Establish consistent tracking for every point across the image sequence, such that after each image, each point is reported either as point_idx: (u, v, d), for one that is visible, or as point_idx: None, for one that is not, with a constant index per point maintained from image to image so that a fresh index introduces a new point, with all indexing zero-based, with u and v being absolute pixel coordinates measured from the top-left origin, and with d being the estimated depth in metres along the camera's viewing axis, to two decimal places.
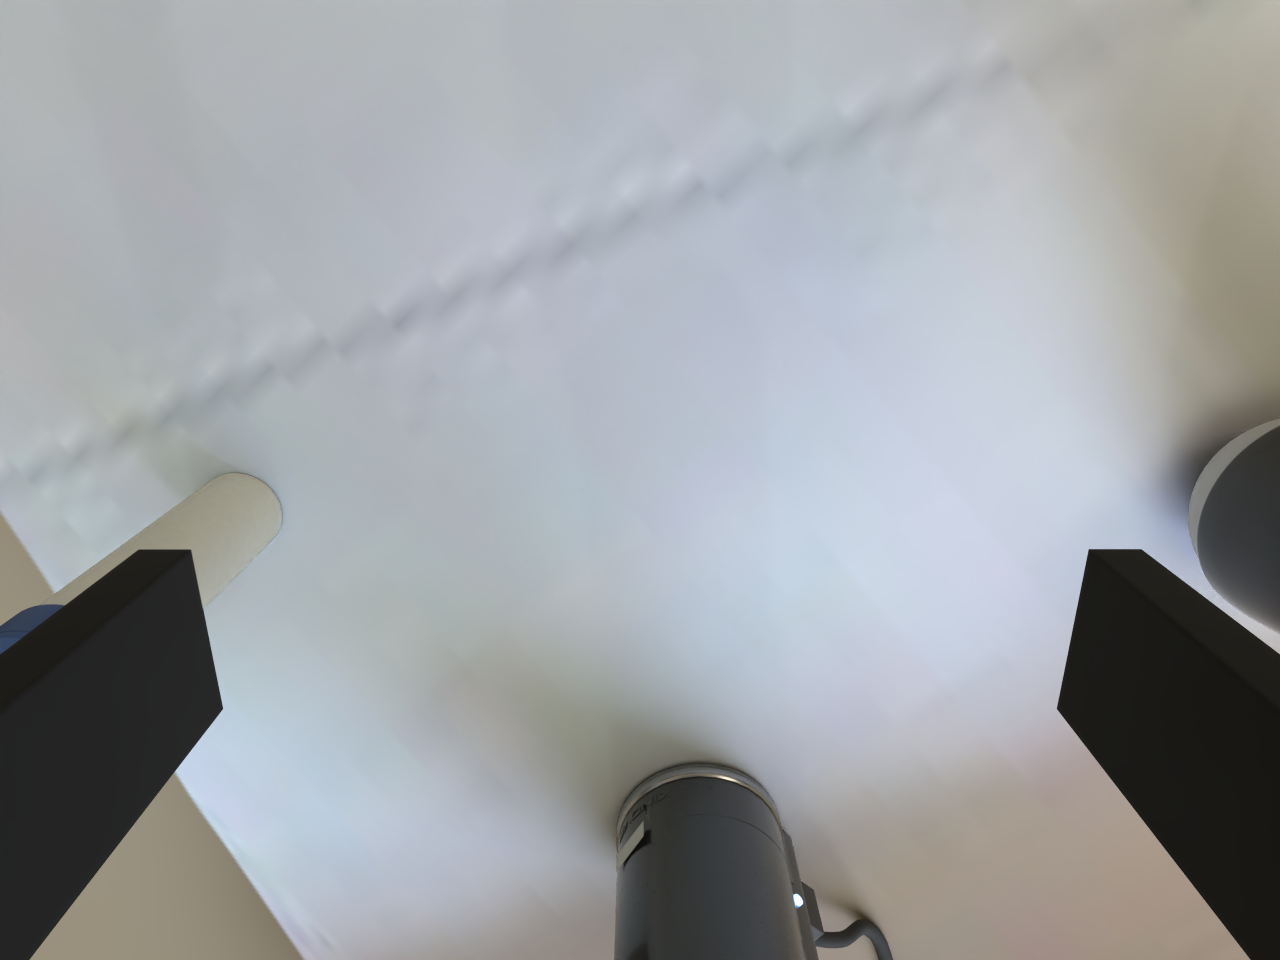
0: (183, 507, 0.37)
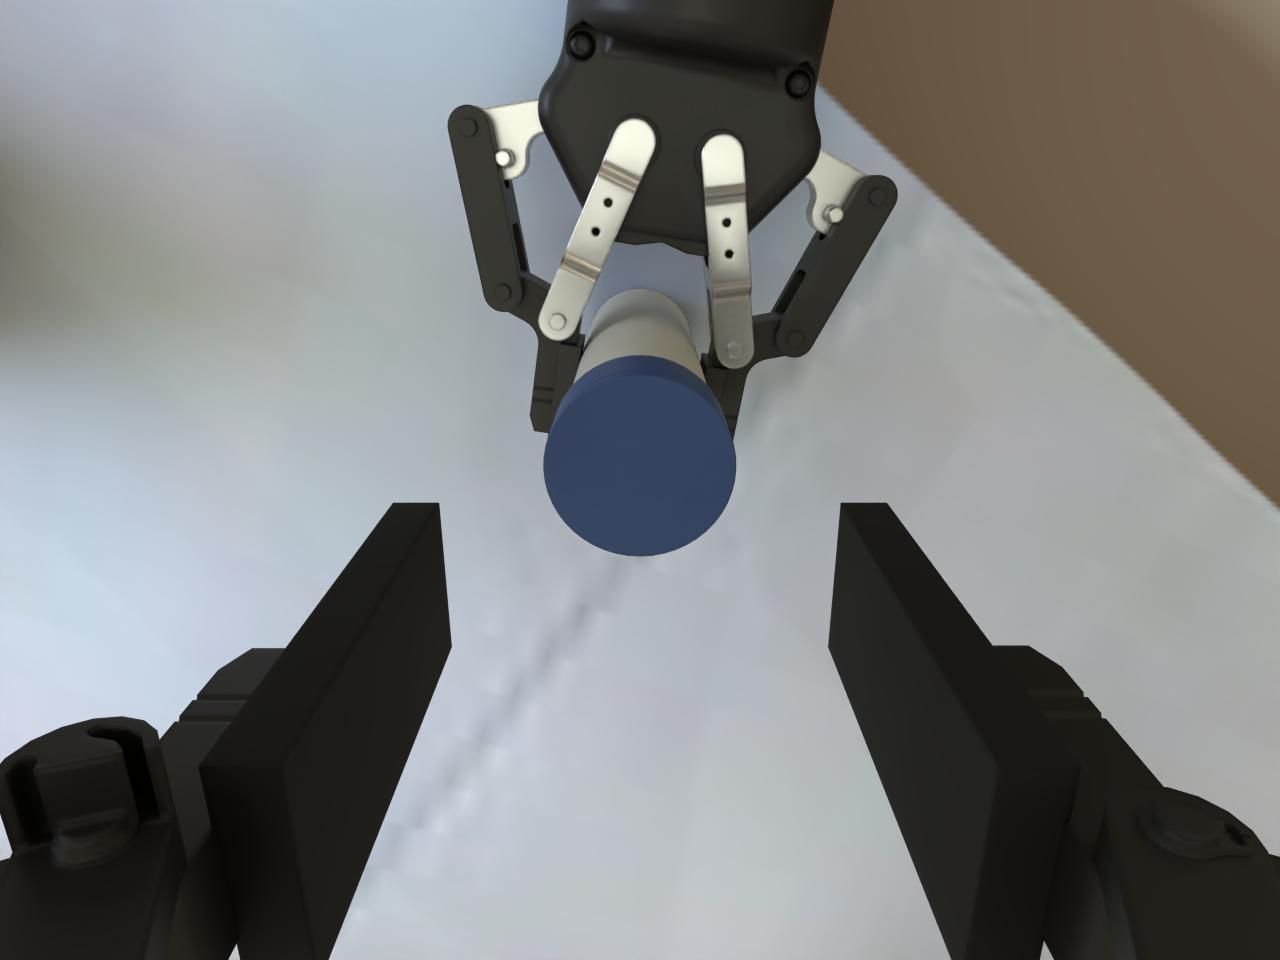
0: None
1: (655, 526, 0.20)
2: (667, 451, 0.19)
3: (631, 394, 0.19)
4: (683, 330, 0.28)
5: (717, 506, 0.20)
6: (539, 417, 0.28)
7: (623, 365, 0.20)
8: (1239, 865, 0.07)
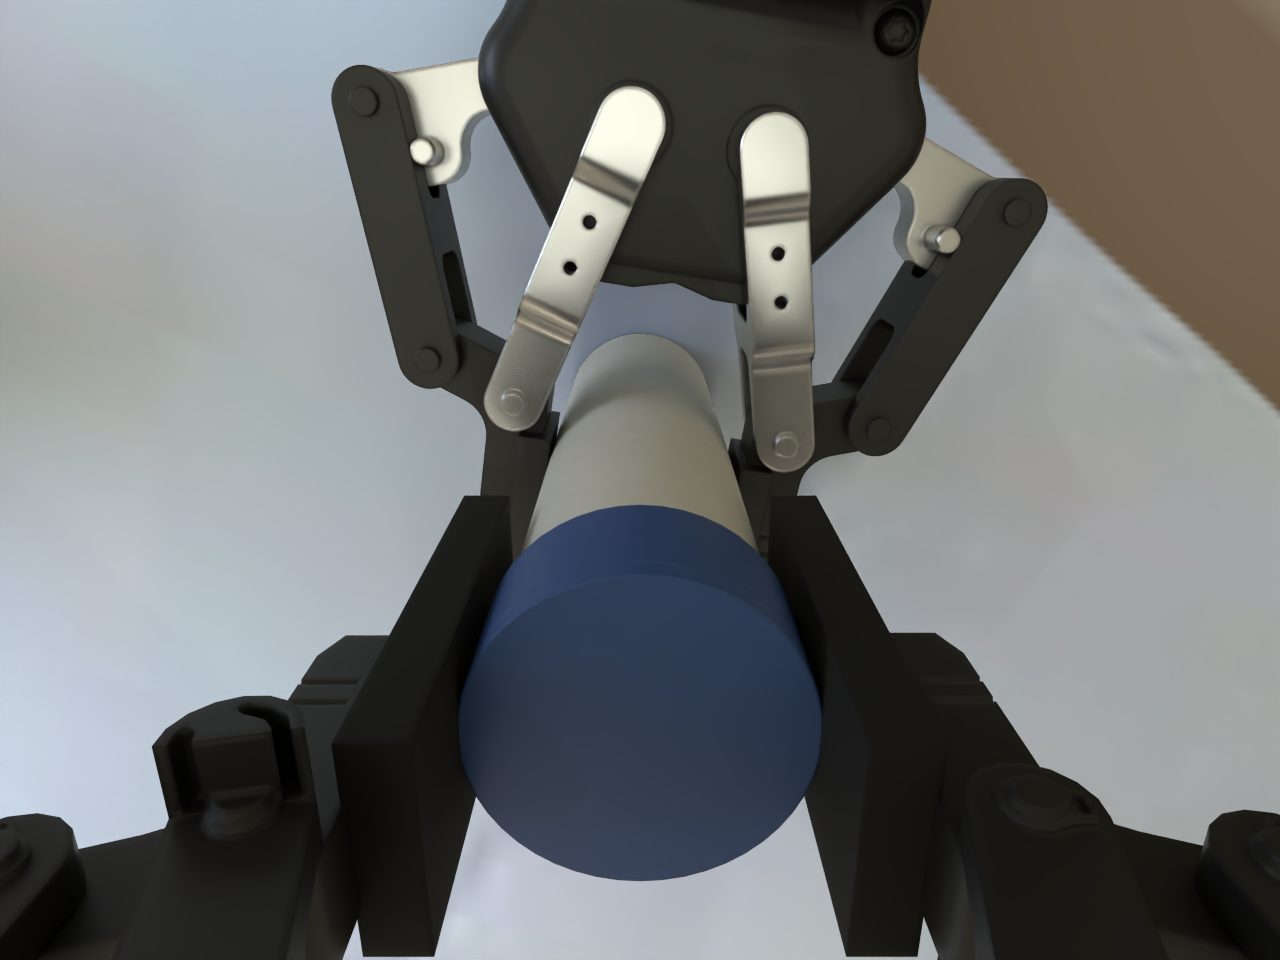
0: None
1: (669, 834, 0.11)
2: (692, 710, 0.10)
3: (623, 610, 0.10)
4: (704, 408, 0.19)
5: (785, 802, 0.11)
6: None
7: (609, 538, 0.10)
8: (1085, 833, 0.07)
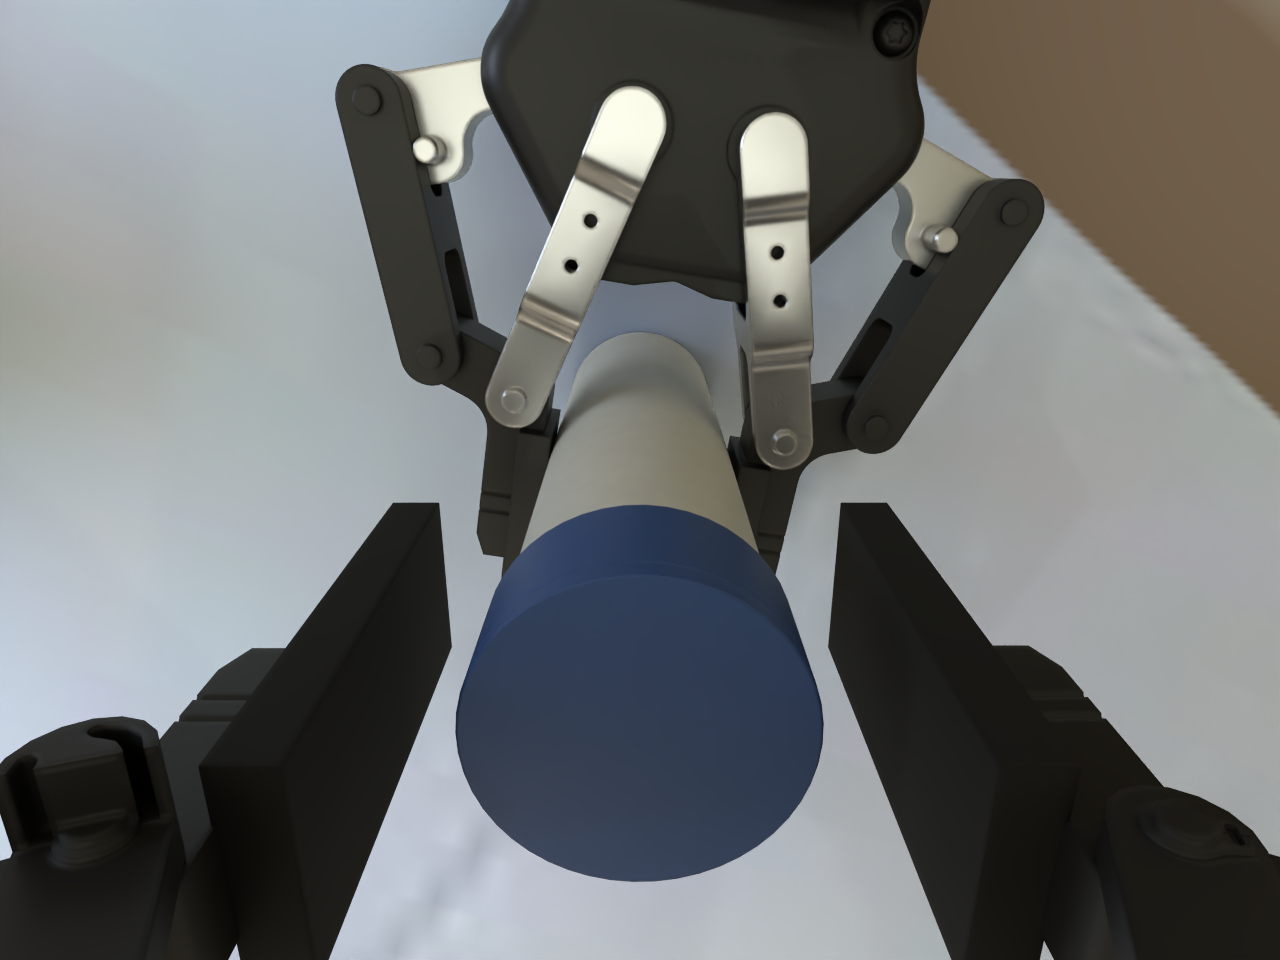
0: None
1: (761, 745, 0.10)
2: (620, 689, 0.10)
3: (492, 716, 0.10)
4: (704, 406, 0.19)
5: (763, 635, 0.10)
6: (490, 535, 0.19)
7: None
8: (1239, 865, 0.07)
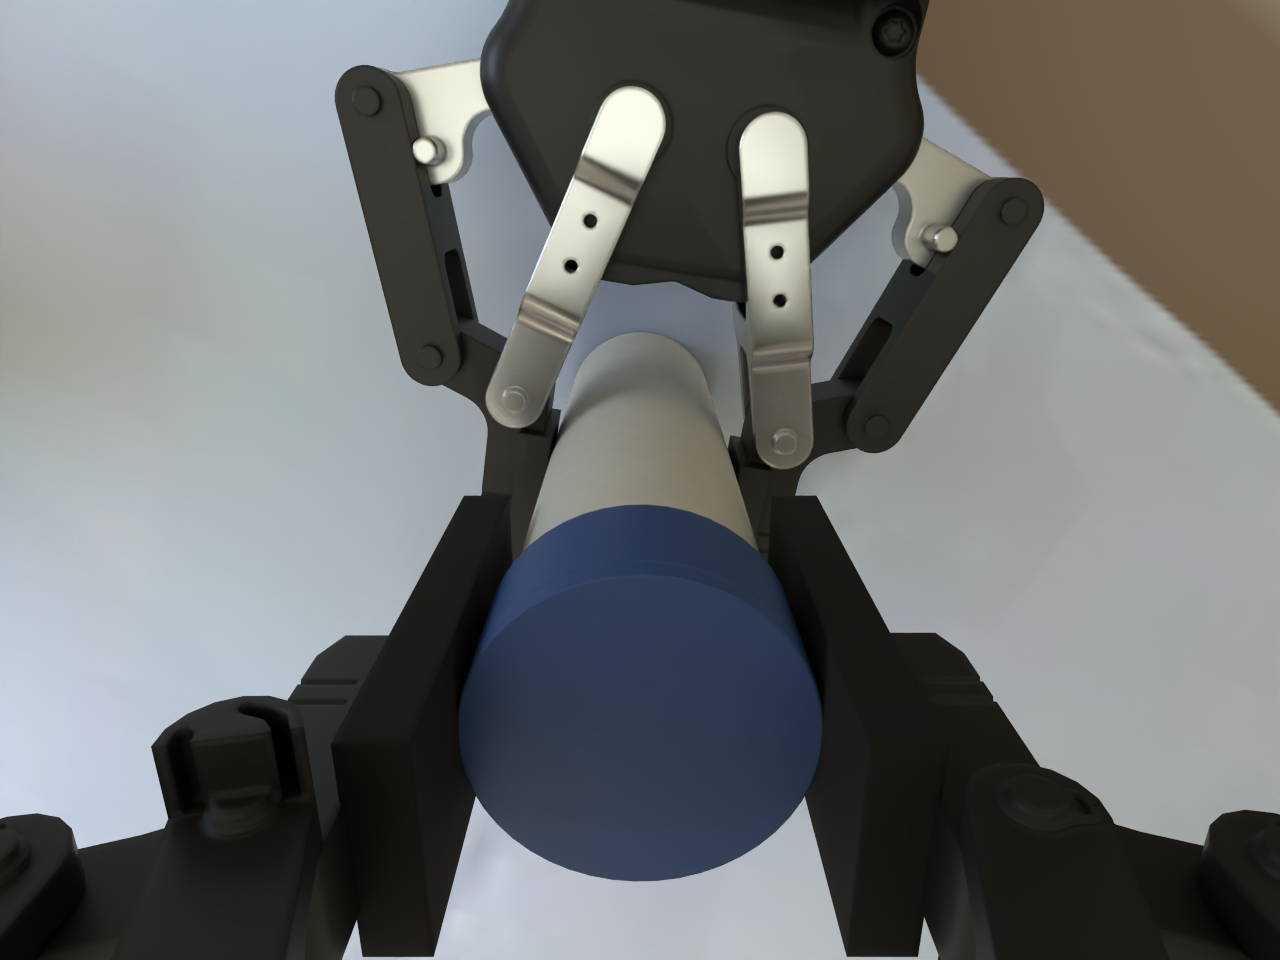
0: None
1: (762, 745, 0.10)
2: (621, 689, 0.10)
3: (493, 716, 0.10)
4: (704, 406, 0.19)
5: (764, 633, 0.10)
6: None
7: None
8: (1086, 833, 0.07)
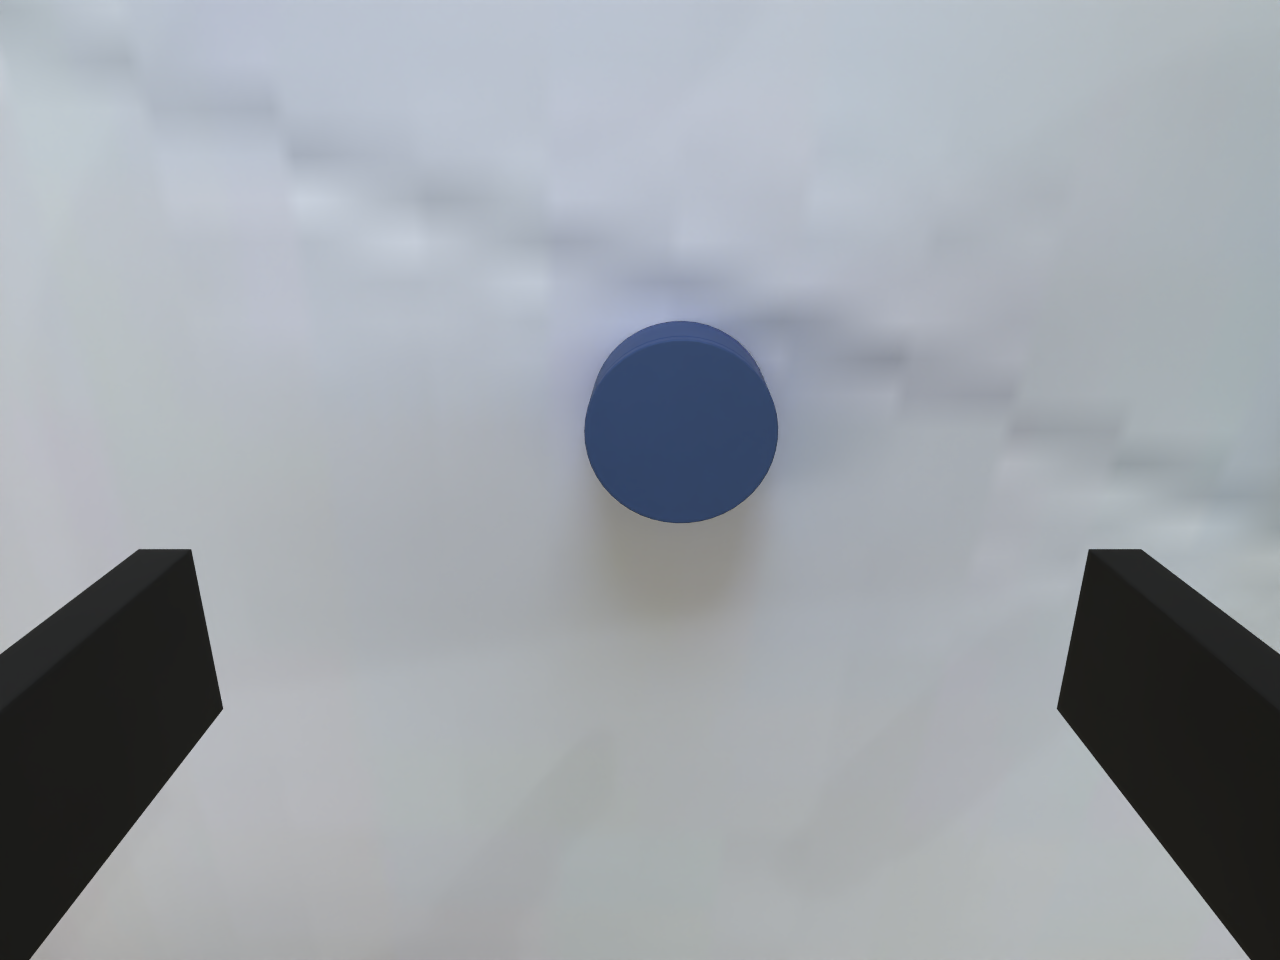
0: None
1: (745, 438, 0.19)
2: (671, 404, 0.19)
3: (604, 420, 0.19)
4: None
5: (745, 373, 0.19)
6: None
7: None
8: None
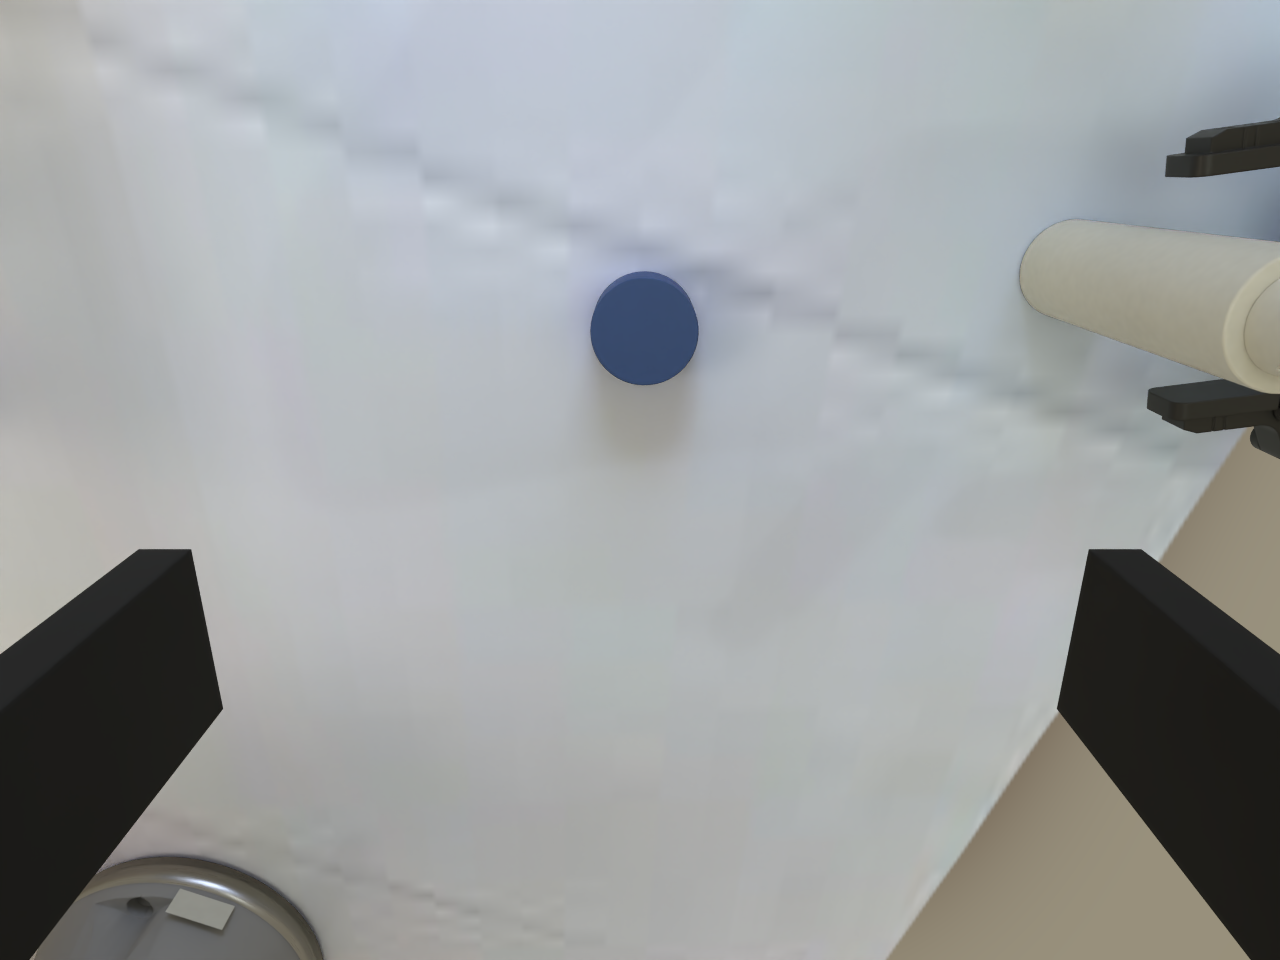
0: (1085, 326, 0.32)
1: (680, 334, 0.35)
2: (639, 314, 0.35)
3: (601, 324, 0.35)
4: None
5: (679, 296, 0.34)
6: (1226, 139, 0.28)
7: None
8: None
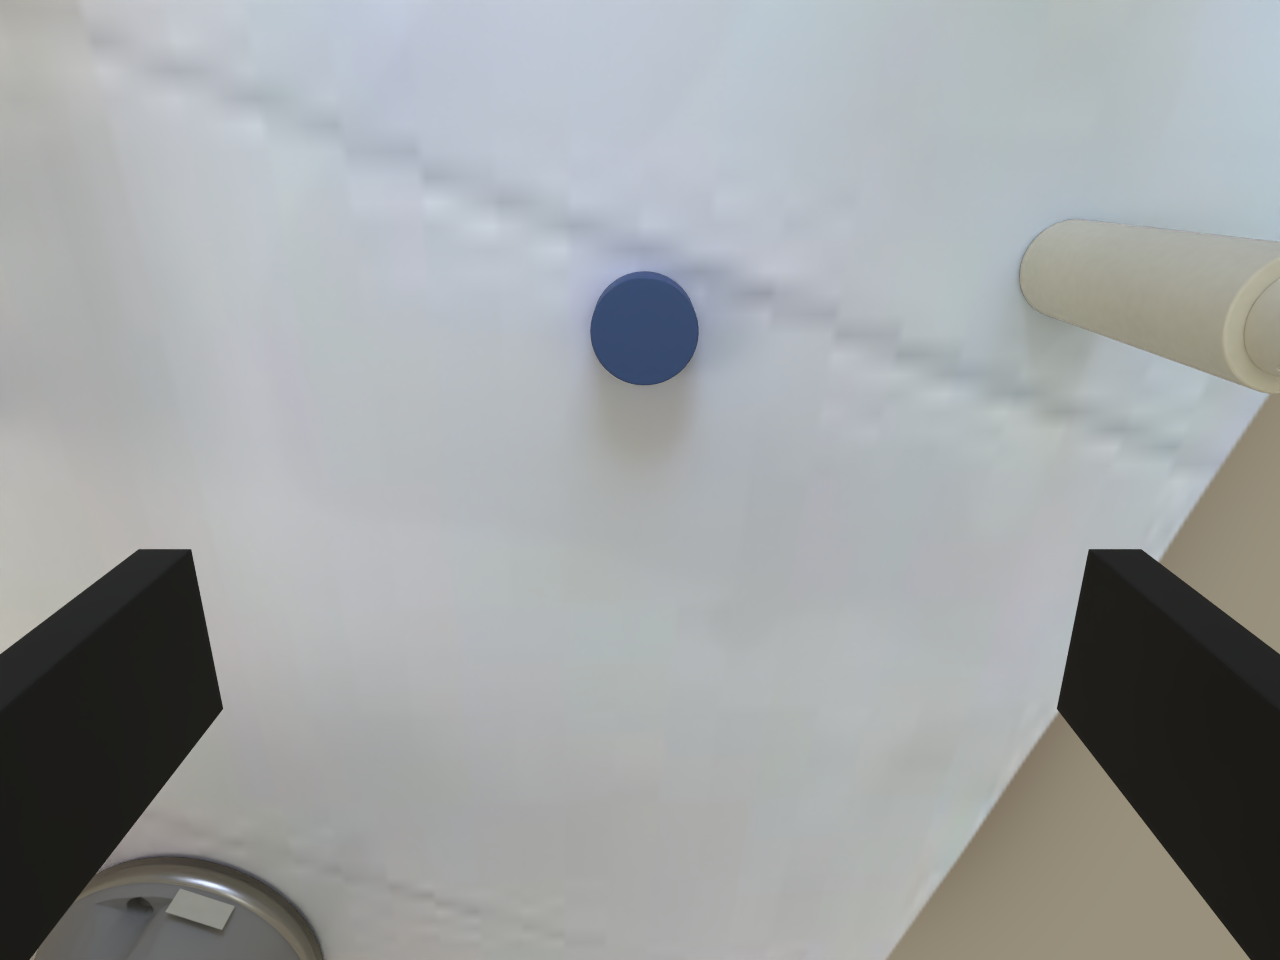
0: (1084, 326, 0.32)
1: (680, 334, 0.35)
2: (639, 314, 0.35)
3: (601, 324, 0.35)
4: None
5: (679, 296, 0.34)
6: None
7: None
8: None
